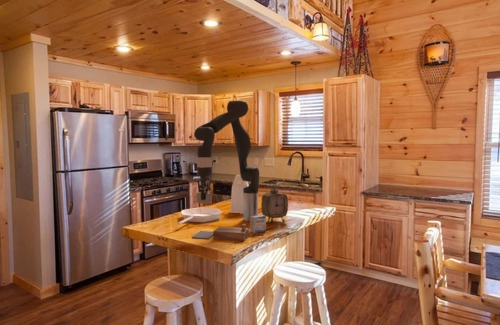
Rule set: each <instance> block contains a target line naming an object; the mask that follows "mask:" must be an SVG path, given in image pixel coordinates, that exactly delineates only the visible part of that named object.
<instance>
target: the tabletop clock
mask: <svg viewBox="0 0 500 325" xmlns="http://www.w3.org/2000/svg"><path fill="white" fill-rule="evenodd" d="M273 183H277V184H278V186H275V185H273V186H271V184H273ZM279 187H280V182H278V181H274V180H273V181H271V182H270V183H269V188H271V190H269V192H267V193H263V194H262V196H261V205H260V206H261V213H262V214H261V215H264V216H266V218H267V217H268V220H266V224H268V225H269V224H270V223H271V222H273V221H274V219H281V220H282V223H284V222H285V221H286V220H285V219H284V217H286V216H287V214H288V208H289V199H288V195H287V194H286V193H281V192H279V190H278V189H277V188H279ZM270 221H271V222H270Z"/></svg>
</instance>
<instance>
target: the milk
mask: <svg viewBox="0 0 500 325" xmlns="http://www.w3.org/2000/svg"><path fill="white" fill-rule="evenodd" d="M248 186H250V184H249V182H248V181H243V180H242V178H241V175H240V174H235V177H234V180H233V182H232V185H231V194H230V195H231V198H230V213H240V214H239V215H243V189H244V188H245V187H248Z"/></svg>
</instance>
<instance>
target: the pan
mask: <svg viewBox="0 0 500 325" xmlns="http://www.w3.org/2000/svg"><path fill="white" fill-rule="evenodd" d="M180 213H181V215H182V217H183V220H181V221H179V222H177V224H178V225H182V224H183V223H185V222H190V223H191V222H192V223H208V222H209V223H210V222H214V221H218V220H220V217H221V215H222V210H221V209H219V208H216V207H213V208H212V207H193V208H185V209H182V210H181V212H180Z"/></svg>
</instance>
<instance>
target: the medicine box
mask: <svg viewBox="0 0 500 325" xmlns="http://www.w3.org/2000/svg"><path fill="white" fill-rule="evenodd" d="M264 231H265V232H266V231H267V216H265V215H263V214H258V215H257V216H251V217H250V221H249V233H252V234H259V232H260V233H264Z"/></svg>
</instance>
